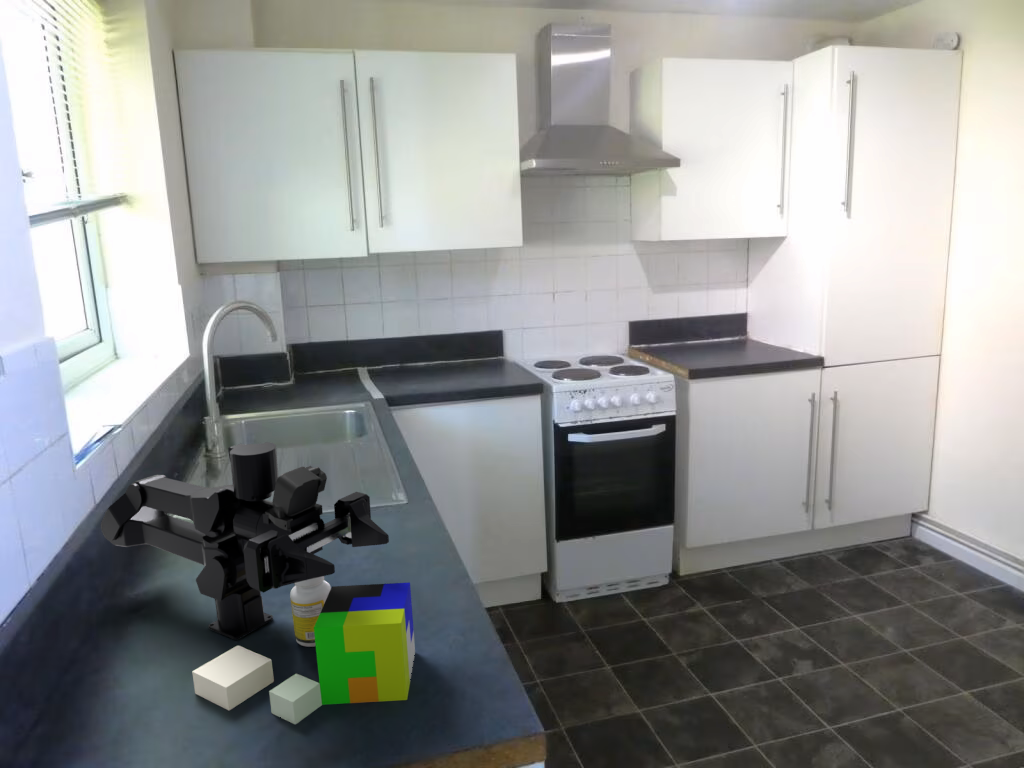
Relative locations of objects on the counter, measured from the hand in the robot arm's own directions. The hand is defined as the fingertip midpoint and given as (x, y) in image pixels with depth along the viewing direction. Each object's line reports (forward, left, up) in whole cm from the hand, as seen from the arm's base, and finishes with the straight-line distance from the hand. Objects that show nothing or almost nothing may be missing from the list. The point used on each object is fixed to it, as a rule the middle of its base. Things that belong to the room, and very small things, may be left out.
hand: (362, 553), depth 87 cm
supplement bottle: (-13, +3, -17) cm, 21 cm away
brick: (-3, -9, -17) cm, 19 cm away
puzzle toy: (0, 0, -17) cm, 17 cm away
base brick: (-13, -10, -16) cm, 23 cm away
